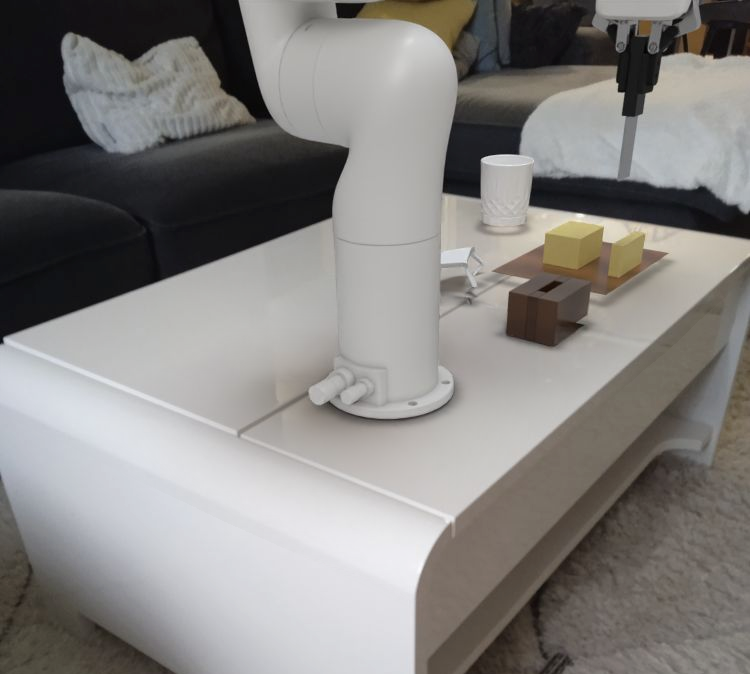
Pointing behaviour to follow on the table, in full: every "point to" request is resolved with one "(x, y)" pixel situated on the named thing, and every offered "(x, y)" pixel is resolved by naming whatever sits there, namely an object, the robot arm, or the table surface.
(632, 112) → the knife
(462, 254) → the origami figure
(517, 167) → the white cup
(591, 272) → the butter board
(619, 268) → the butter slice
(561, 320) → the knife block
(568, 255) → the butter block
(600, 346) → the table surface
